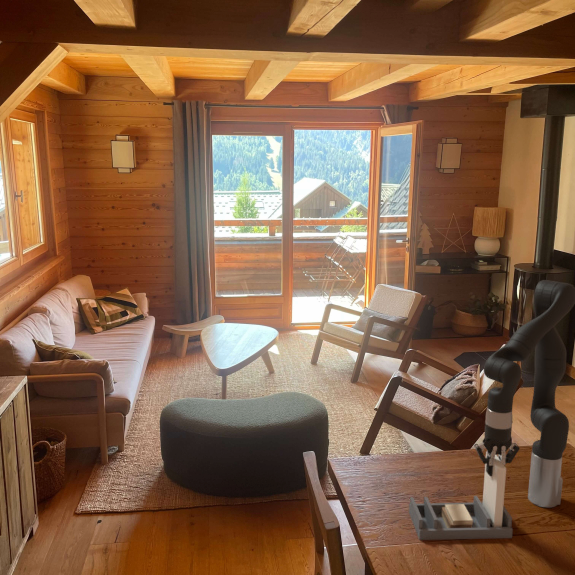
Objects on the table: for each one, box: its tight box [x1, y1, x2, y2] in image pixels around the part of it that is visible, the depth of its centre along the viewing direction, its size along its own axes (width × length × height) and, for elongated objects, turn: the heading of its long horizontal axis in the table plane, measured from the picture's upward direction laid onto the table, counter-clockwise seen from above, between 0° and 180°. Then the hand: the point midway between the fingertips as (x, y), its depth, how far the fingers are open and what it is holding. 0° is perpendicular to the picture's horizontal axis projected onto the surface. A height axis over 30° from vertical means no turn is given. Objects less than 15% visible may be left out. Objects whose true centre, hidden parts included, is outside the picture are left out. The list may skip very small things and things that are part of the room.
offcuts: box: [441, 504, 473, 528], centre depth 179 cm, size 7×10×4 cm
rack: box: [408, 495, 513, 541], centre depth 179 cm, size 28×14×7 cm, turn 91°
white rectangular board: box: [482, 451, 507, 527], centre depth 177 cm, size 2×10×20 cm, turn 1°
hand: (494, 474), depth 176 cm, fingers closed on white rectangular board, 2 cm apart
